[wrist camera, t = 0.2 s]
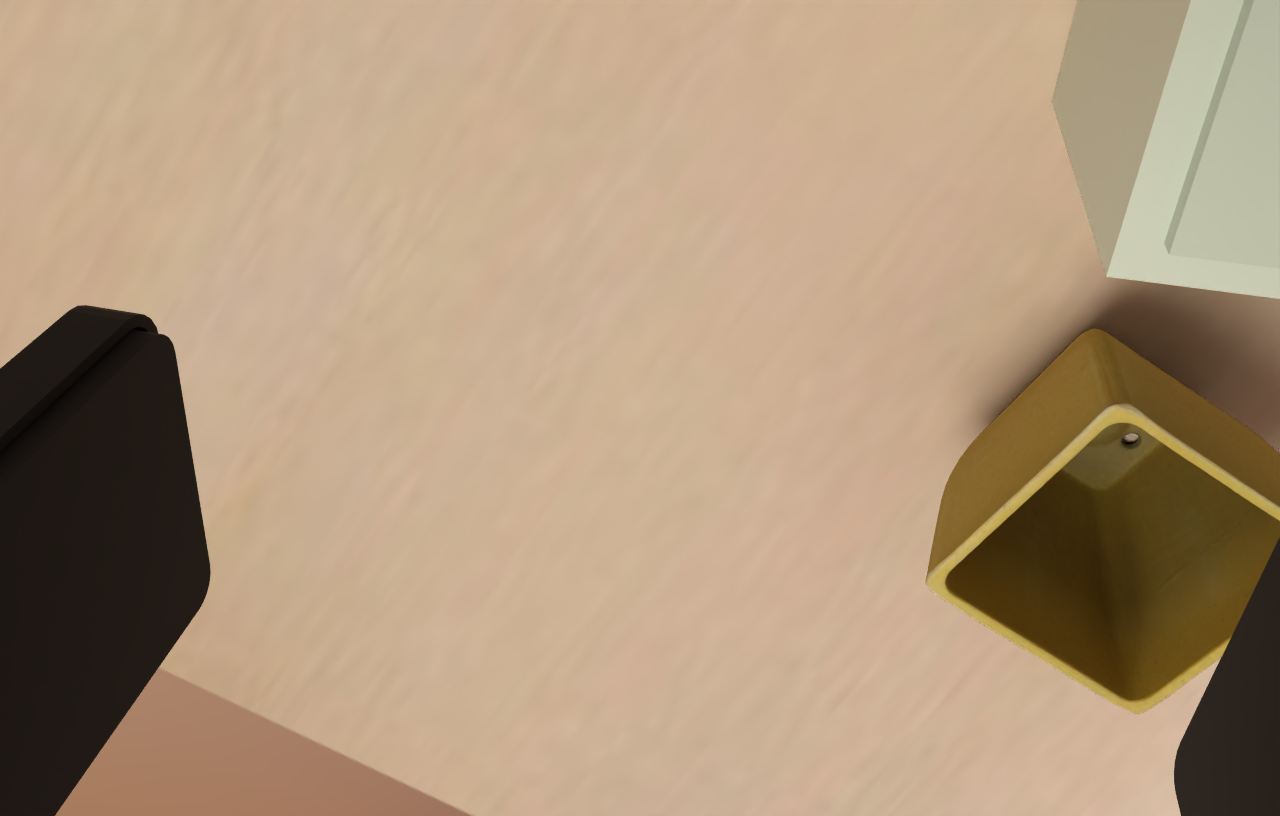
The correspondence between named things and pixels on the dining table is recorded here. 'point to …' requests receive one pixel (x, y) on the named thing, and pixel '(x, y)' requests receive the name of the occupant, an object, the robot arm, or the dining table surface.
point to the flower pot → (1109, 524)
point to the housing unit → (1177, 139)
